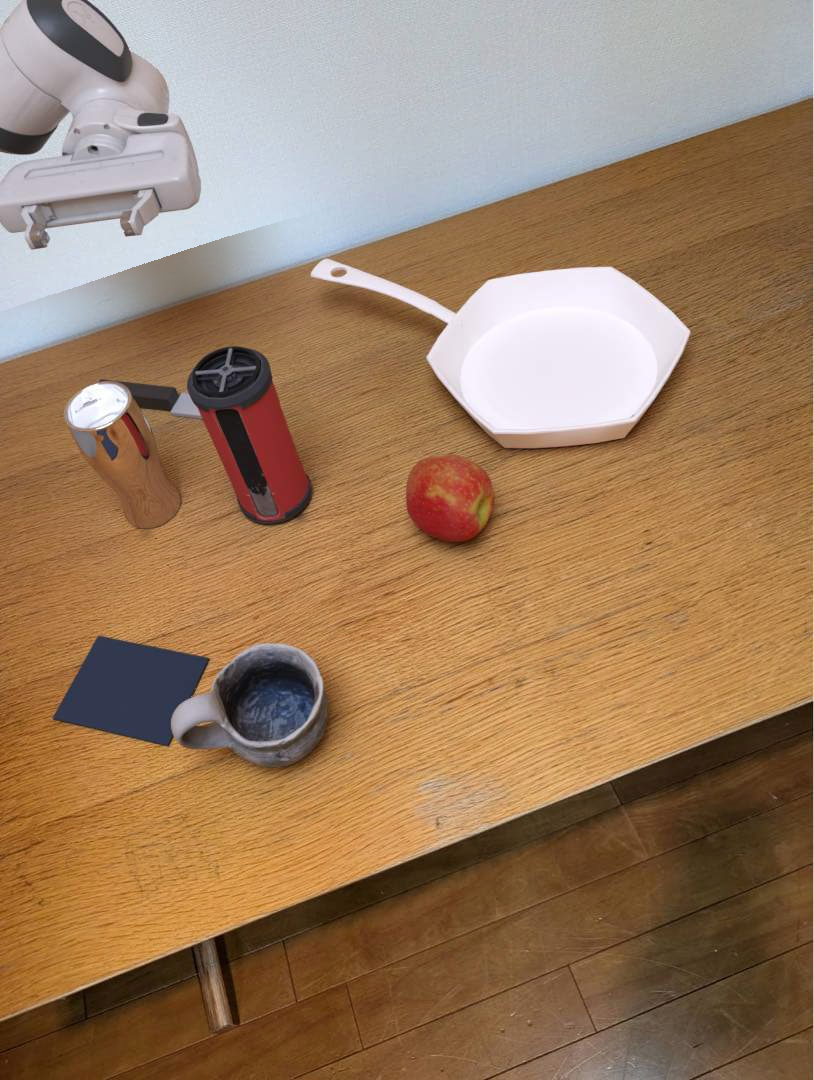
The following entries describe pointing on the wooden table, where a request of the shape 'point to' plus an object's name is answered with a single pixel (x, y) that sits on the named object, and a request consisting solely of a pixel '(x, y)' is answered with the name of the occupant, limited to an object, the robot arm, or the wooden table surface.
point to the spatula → (162, 399)
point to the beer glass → (122, 451)
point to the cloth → (131, 689)
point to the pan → (548, 352)
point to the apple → (449, 497)
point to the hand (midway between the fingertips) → (82, 236)
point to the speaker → (250, 433)
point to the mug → (259, 707)
